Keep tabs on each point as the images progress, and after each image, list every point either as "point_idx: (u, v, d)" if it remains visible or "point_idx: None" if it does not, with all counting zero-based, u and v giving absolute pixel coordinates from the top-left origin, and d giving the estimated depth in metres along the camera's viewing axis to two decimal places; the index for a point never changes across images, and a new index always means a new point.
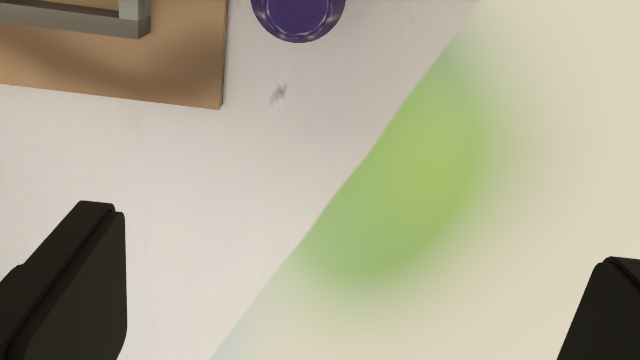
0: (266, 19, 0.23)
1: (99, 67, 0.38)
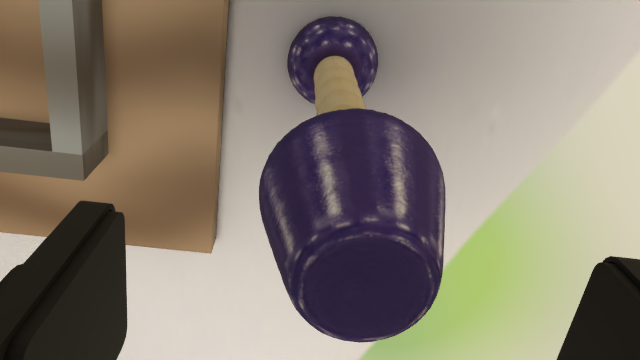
0: (297, 309, 0.10)
1: (34, 199, 0.26)
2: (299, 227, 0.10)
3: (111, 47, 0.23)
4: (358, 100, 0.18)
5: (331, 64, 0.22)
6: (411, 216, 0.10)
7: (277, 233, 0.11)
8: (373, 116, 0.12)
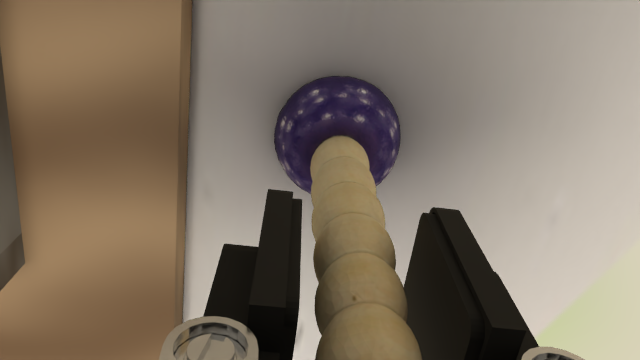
0: None
1: None
2: None
3: (19, 122, 0.16)
4: (382, 240, 0.11)
5: (336, 153, 0.15)
6: None
7: None
8: None
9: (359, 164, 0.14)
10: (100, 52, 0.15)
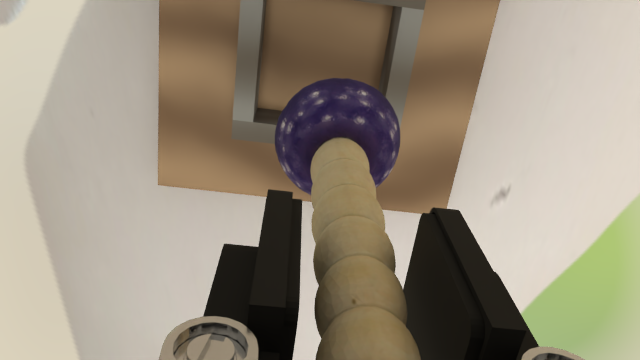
0: None
1: None
2: None
3: None
4: (382, 242, 0.11)
5: (336, 155, 0.15)
6: None
7: None
8: None
9: (359, 166, 0.14)
10: (454, 30, 0.32)
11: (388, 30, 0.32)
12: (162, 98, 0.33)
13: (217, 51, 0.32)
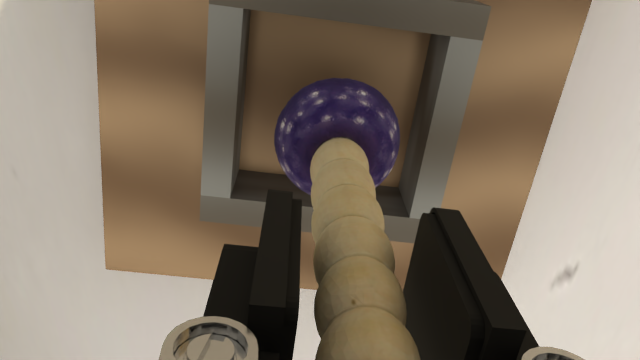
0: None
1: None
2: None
3: None
4: (381, 243, 0.11)
5: (335, 155, 0.15)
6: None
7: None
8: None
9: (359, 166, 0.14)
10: (518, 65, 0.23)
11: (423, 64, 0.22)
12: (106, 157, 0.24)
13: (181, 94, 0.23)
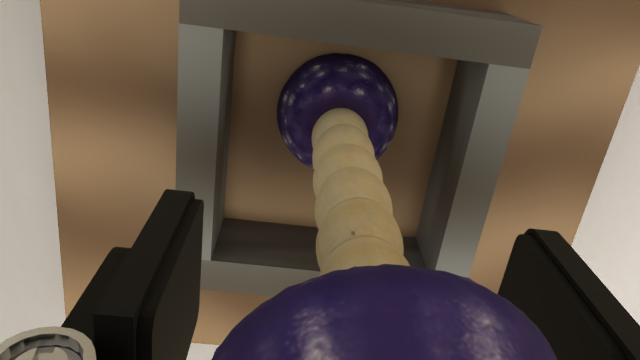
0: None
1: None
2: None
3: None
4: (380, 189, 0.11)
5: (336, 121, 0.15)
6: None
7: None
8: (432, 290, 0.06)
9: (358, 130, 0.14)
10: (564, 94, 0.18)
11: (449, 94, 0.18)
12: (63, 204, 0.20)
13: (152, 129, 0.19)
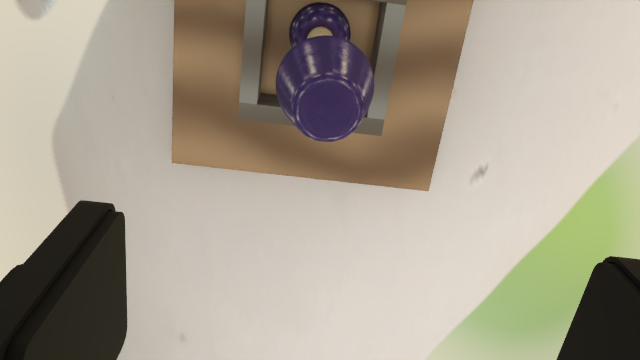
0: (295, 123, 0.22)
1: (321, 153, 0.40)
2: (297, 81, 0.22)
3: None
4: None
5: (318, 31, 0.33)
6: (349, 75, 0.21)
7: (286, 90, 0.22)
8: (334, 38, 0.24)
9: (327, 32, 0.32)
10: (434, 23, 0.36)
11: (376, 23, 0.36)
12: (176, 84, 0.38)
13: (225, 42, 0.36)
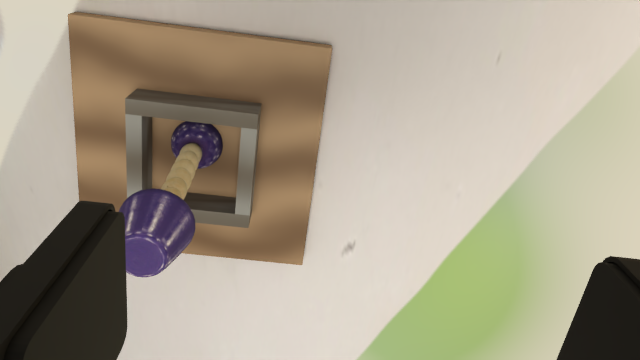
0: None
1: (208, 235, 0.47)
2: None
3: (260, 158, 0.44)
4: (184, 174, 0.37)
5: (186, 149, 0.41)
6: (155, 231, 0.29)
7: None
8: (157, 192, 0.31)
9: (191, 153, 0.40)
10: (292, 135, 0.44)
11: None
12: (81, 182, 0.45)
13: (119, 149, 0.44)
